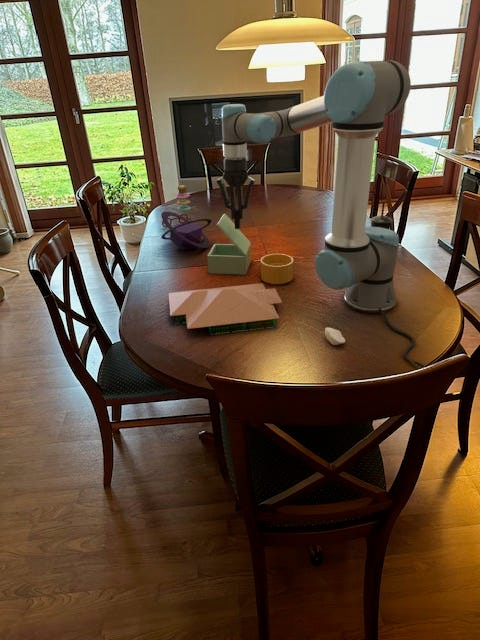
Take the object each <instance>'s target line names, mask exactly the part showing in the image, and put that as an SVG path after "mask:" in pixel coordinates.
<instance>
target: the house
mask: <svg viewBox="0 0 480 640" xmlns="http://www.w3.org/2000/svg"><path fill="white" fill-rule="evenodd" d="M168 298H169V299H168V303H169V316H170V317H172V319H173V320H179V319H181V320H182V321H183V319H185V322H184V321H183V324H186V328H187V330H191V329H201V328H208V329H209V334H210V335H212V330H213V331H215V330H216V333H215V335H221V334H227V333H229V331H227V332H226V331H221V330H220V329H218V327H220V326H222V329H228V325H230V326H232V328H233V329H234V328H236V330H233V333H236V332H245V331H247V323H248V326H254V327H253V328H251V329H250V331H252V330H256V328H255V327H256V323H255V322H258V325H261V321H262V322H263V321H265V324H267V323H268V325H267V329H270V328H271V329H272V326H269V324H271V321H272V324H273V326H274V328H276V327H277V321H276V320H277V319H280V317H279V314H278V313H277V310H276V308H275V305H279V304H283V301H282V299H281V297H280V295H279V293H278V292H277V289H276V288H266V287H265V285H264V283H262V282H261V283H249V284H241V285H232V286H224V287H222V286H221V287H212V288H203V289H193V290H184V291H183V290H182V291H175V292H174V291H173V292H168ZM177 316H179V318H178V317H177ZM181 316H184V317H181ZM175 317H176V318H175ZM266 321H267V322H266ZM173 324H174V325H177V324H179V322H176V321H173ZM235 324H236V325H235ZM237 324H239V327H243V328H244V329H241V330H240V329H239V330H238V329H237V327H238V325H237ZM226 325H227V326H226ZM223 326H224V327H223ZM211 327H212V328H211ZM214 327H215V328H214ZM260 329H263V327H259V328H258V330H260ZM217 330H218V331H219V332H218V331H217ZM220 331H221V332H220Z"/></svg>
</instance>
